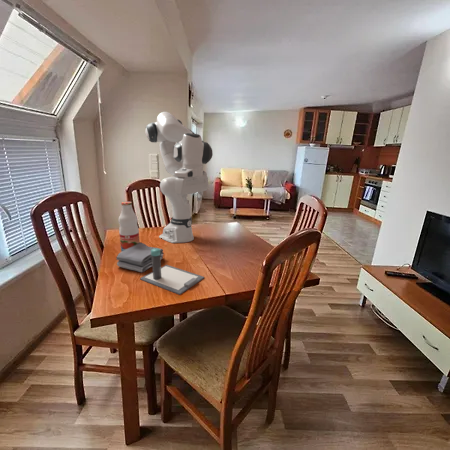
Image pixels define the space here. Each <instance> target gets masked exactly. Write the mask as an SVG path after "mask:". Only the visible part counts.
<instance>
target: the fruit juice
mask: <svg viewBox="0 0 450 450" xmlns="http://www.w3.org/2000/svg"><path fill="white" fill-rule="evenodd" d="M132 205H133V203H132V201H121V211H120V215H119V216H118V224H119V228H118V231H119V241H120V242H119V244H120V253H121V252H122V251H124V250H126V249H128V248H130V247H132V246H134V245H136V244H138V243H140V242H141V241H140V230H139V226H138V219H139V218H138V216H137V214H136V213H135V210H134V209H133V207H132Z"/></svg>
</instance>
